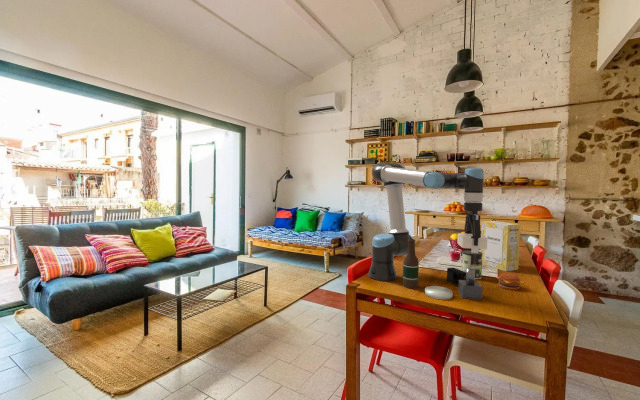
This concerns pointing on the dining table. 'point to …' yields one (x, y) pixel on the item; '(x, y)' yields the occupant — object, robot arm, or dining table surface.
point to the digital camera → (455, 275)
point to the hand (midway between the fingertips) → (471, 250)
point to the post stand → (470, 286)
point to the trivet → (438, 292)
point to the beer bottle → (410, 267)
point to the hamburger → (509, 281)
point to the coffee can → (472, 262)
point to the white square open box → (470, 241)
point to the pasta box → (501, 245)
